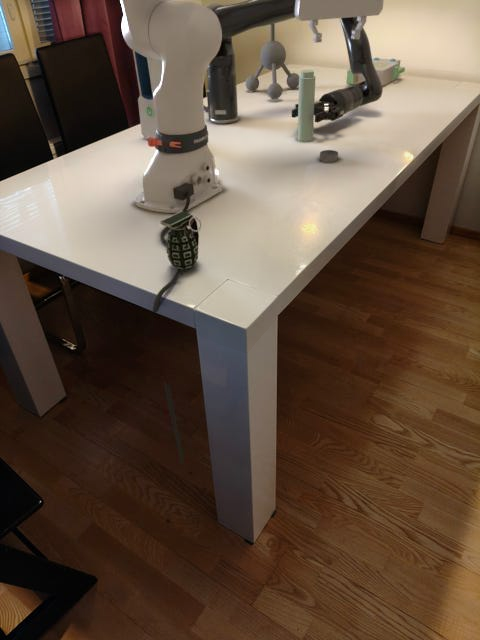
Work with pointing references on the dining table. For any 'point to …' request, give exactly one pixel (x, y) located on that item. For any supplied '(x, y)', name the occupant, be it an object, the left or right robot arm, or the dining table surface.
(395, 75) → the grey box with clips
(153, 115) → the electronic device
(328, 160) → the lid
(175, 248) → the grenade
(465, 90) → the dining table surface
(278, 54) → the molecular model
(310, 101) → the mint green cylinder
